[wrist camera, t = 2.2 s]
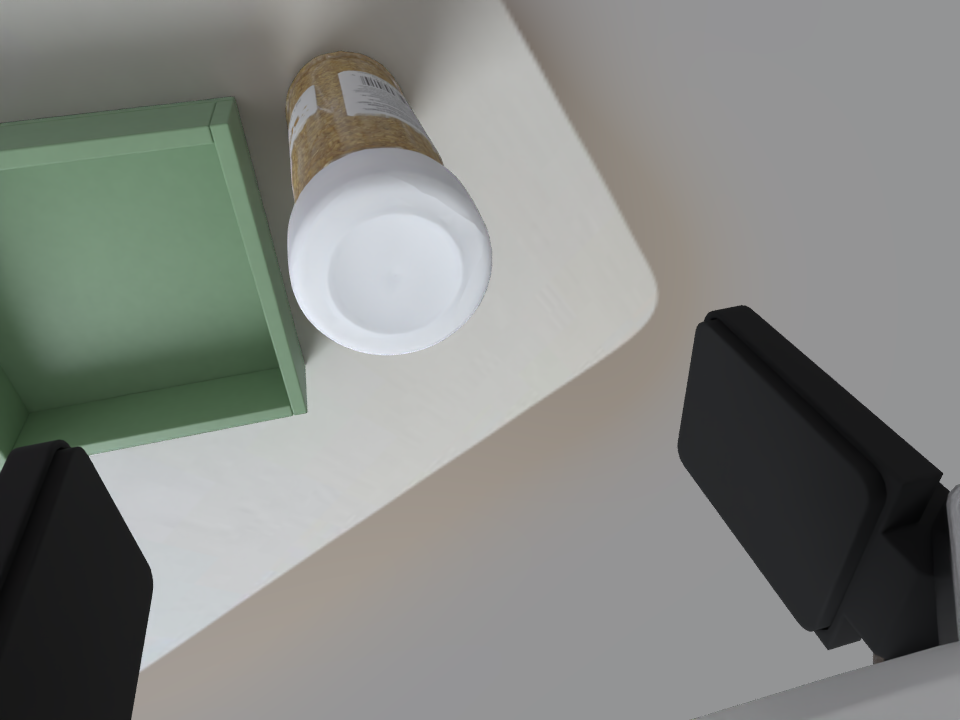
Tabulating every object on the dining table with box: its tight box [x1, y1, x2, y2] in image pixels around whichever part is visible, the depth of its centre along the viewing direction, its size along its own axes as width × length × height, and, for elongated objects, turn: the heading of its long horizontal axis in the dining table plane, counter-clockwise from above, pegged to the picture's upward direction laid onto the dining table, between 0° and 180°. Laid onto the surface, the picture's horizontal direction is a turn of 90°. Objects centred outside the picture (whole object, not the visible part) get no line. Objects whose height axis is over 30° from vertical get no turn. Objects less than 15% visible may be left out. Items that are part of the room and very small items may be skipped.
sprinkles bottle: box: [285, 51, 492, 355], centre depth 20 cm, size 5×5×13 cm
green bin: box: [0, 97, 307, 472], centre depth 25 cm, size 12×12×4 cm
